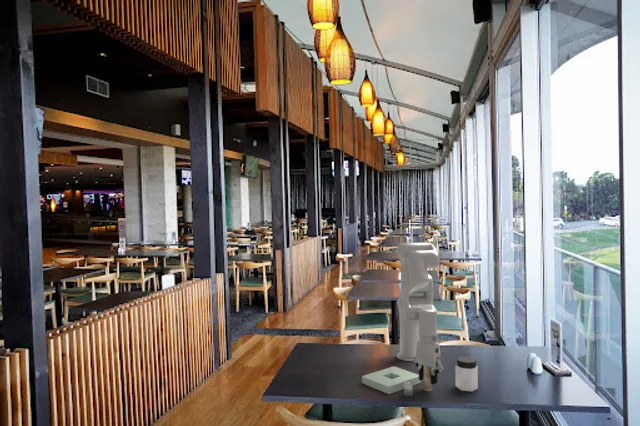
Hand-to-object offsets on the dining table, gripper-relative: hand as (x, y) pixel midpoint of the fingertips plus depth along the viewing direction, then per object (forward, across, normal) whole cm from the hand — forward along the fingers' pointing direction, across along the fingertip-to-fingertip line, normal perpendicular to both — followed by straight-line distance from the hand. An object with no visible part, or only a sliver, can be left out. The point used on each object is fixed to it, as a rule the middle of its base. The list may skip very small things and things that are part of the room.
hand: (428, 381), depth 201 cm
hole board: (+4, +15, +6) cm, 17 cm away
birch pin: (+4, 0, 0) cm, 4 cm away
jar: (+4, -9, -14) cm, 17 cm away
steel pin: (+4, +2, +10) cm, 11 cm away
